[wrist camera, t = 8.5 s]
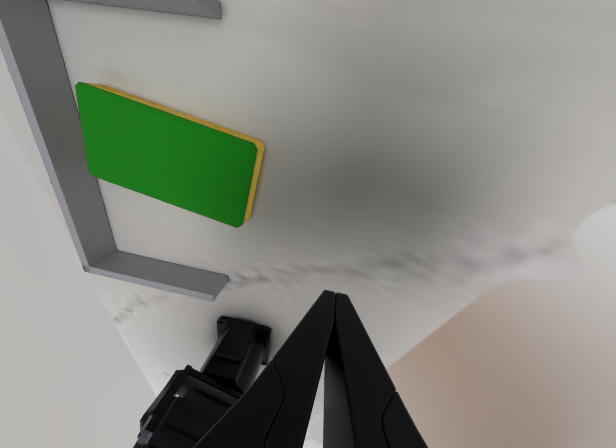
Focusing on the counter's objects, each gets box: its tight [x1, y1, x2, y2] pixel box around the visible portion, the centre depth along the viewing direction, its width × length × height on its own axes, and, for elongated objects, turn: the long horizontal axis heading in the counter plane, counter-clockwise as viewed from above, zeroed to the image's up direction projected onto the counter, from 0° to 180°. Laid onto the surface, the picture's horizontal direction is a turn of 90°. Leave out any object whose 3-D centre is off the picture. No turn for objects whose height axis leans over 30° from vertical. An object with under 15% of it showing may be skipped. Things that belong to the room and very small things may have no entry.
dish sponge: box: [75, 82, 265, 228], centre depth 19 cm, size 7×14×2 cm, turn 73°
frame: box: [0, 0, 228, 302], centre depth 19 cm, size 23×14×3 cm, turn 172°
